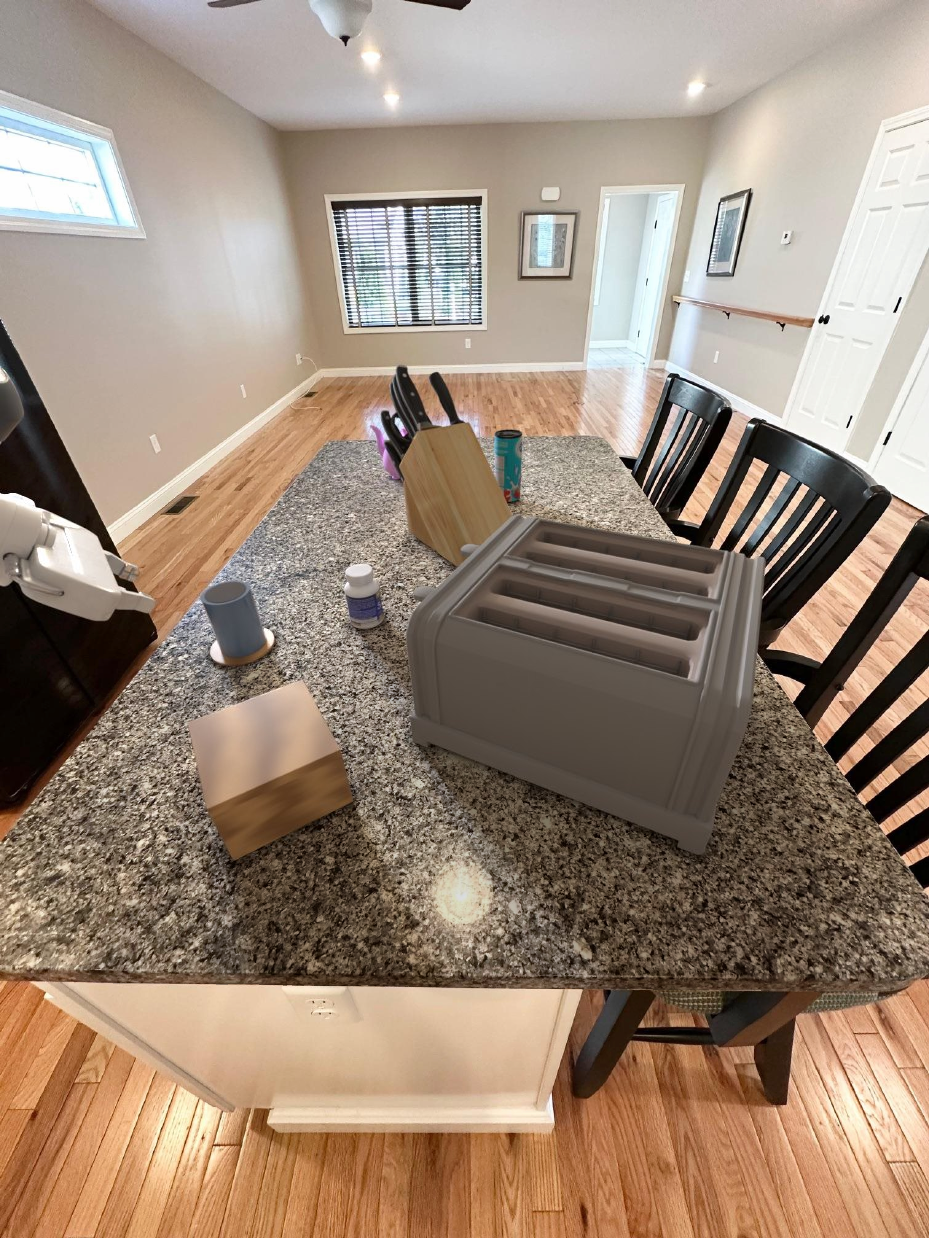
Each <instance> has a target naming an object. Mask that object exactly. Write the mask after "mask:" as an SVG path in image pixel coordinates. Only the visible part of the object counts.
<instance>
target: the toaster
mask: <svg viewBox="0 0 929 1238" xmlns="http://www.w3.org/2000/svg"><path fill="white" fill-rule="evenodd" d="M512 515H513V516H512V517H510V518H509V519H508V520H507V521H506V522H505V523H504V524H503V525H502V526H501V527H500V528H499V529H498V530H497V531H496V532H495V533H494V534H493V535H491V536H490V537H489V538H488V539H487V540H486V541H485V542H484V543H483V544H482V545H481V546H479V545H474V544H467V545H464V546H463V547H462V548H461V554H462V555H463V556H466V557H468V558H467V559H466V560H465V561H464V562H463V563H462V564H461V565H460V566H459V567H456V568H455V569H454V571H452V572H451V573H450V574H449V575H448V576H447V577H446V578H445V579H444V580H442V582H440V584H438V586H436V587H433V586H429V585H421V586H418V587H416V588H415V589H414V590H413V591H412V592H413V593H412V594H413V595H412V597H413V599H414V600H415V601H417V602H420V603H418V604H417V606H416V607H415V608H414V610H413V611H412V612H411V614H410V616H409V619H408V622H407V626H406V629H405V645H406V652H407V660H408V662H407V663H408V668H409V670H408V671H409V678H410V684H411V685H410V686H411V693H412V701H413V707H414V708H413V712H411V714H410V717H409V720H410V721H409V722H410V728H411V736H412V737H411V738H412V741H413V743H415V744H417V745H420V746H423V747H425V748H429V746H430V745H433V746H436V747H439V748H442V749H445V750H447V751H449V752H452V753H454V754H458V755H460V756H462V757H464V758H467V759H471V760H473V761H475V762H477V763H480V764H483V765H485V766H487V767H490V768H493V769H496V770H498V771H500V772H503V773H506V774H507V775H512V777H513V776H514V777H516V778H518V779H520V780H523V781H526V782H528V783H531V784H533V785H536V786H538V787H540V788H544V789H545V790H548V791H552V792H554V793H556V794H558V795H562V796H564V797H567V798H569V799H572V800H574V801H577V802H579V803H582V804H584V805H587V806H590V807H591V808H595V809H596V810H600V811H602V812H605V813H607V814H610V815H613V816H615V817H617V818H620V819H623V820H625V821H628V822H630V823H632V824H634V825H635V824H636V825H638V826H640V827H643V828H645V829H648V830H651V831H653V832H655V833H658V834H660V835H663V836H666V837H668V838H671V839H673V840H676V841H677V848H678V849H681V850H684V851H686V852H689V853H692V854H693V855H697V856H702V855H703V853H704V852H705V850H706V847H707V845H708V843H709V840H710V838H711V835H712V833H713V831H714V825H715V819H716V811H717V806H718V805H717V804H718V802H719V799H720V797H721V794H722V792H723V789H724V787H725V784H726V783H727V780H728V777H729V774H730V772H731V770H732V768H733V765H734V762H735V760H736V757H737V755H738V753H739V751H740V748H741V745H742V743H743V740H744V738H745V734H746V731H747V727H748V725H749V720H750V715H751V712H752V707H753V702H754V701H753V700H754V691H755V681H756V670H757V660H758V649H759V639H760V638H759V637H760V630H761V629H760V628H761V617H762V608H763V607H762V605H763V595H764V586H765V575H766V574H765V573H766V565H767V564H766V563H767V560H766V559H765V557H763V556H760V555H759V556H756V557H754V558H750V557H747V556H746V555H745V553H741V552H737V551H735V550H732V551H731V552H730V551H729V550H722V549H716V548H711V547H705V546H699V545H694V544H688V543H681V542H676V541H670V540H664V539H659V538H653V537H648V536H642V535H636V534H631V533H625V532H619V531H613V530H608V529H602V528H596V527H591V526H585V525H579V524H573V523H567V522H561V521H555V520H550V519H544V518H541V517H540V516H536V517H534V516H527V517H526V518H524V517H523V516H522V515H521V514H512Z"/></svg>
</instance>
